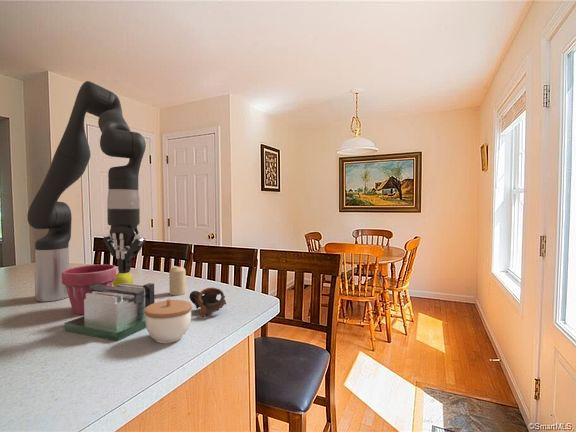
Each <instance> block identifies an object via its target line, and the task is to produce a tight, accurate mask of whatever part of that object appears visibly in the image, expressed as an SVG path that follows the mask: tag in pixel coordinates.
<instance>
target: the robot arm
mask: <svg viewBox="0 0 576 432" xmlns="http://www.w3.org/2000/svg"><path fill="white" fill-rule="evenodd" d="M87 113H88V114H90V115H93V116H95V117H98V120H97V121H98V122H97V125H98V128H99V130H100V132H101V135H100V139H99V148H100V150H101V151H102V153H103V154H104V155H106V156H108V157H111V158H112V157H113V158H123V159H128V163H127V164H126V165H118V166H112V167H110V168H109V169H108V175H107V177H108V178H107V180H108V181H107V183H108V187H107V189H108V190H107V191H108V192H107V200H106V202H107V203H106V205H107V207H106V208H107V210H106V212H107V215H106V216H107V225H108V226H110V229H109V234H108V235H107V236H103V237H102V241H103V242H104V244H105V245H106V248H107V249H108V251H109V254H110V255H111V256H112V257H116V258H115V259H117V269H118V272H119V273H130V271H131V264H132V263H131V260H132V258H134V257H137V256H138V255H139V253H140V251H141V250H142V248H143V246H144V245H145V243H146V241H147V240H146V238H145V237H141V236H140V235H139V230H138V226H139V225H140V222H141V221H140V220H141V219H140V218H141V216H140V213H141V211H140V201H141V200H140V194H139V174H140V168H141V163H142V160H143V158H144V155H145V151H146V140H145V137H144V136H143V135H142V134H141V133H139V132H137V131H131V129H130V126H129V125H128V123H127V122H126V120H125V118H124V116H123V110H122V104H121V101H120V98H119V97H118V95H117V94H116V93H114V92H113V91H111V90H109V89H106V88H105V87H102V86H100V85H99V84H96V83H94V82H92V81H88V80H87V81H86V80H85V81H84V82H83V83H82V84H81V86H80V88H79V90H78V92H77V94H76V97H75V101H74V104H73V107H72V110H71V113H70V117H69V119H68V122H67V125H66V127H65V129H64V132H63V134H62V137H61V139H60V141H59V143H58V145H57V148H56V150H55V153H54V155H53V157H52V159H51V162H50V166H49V168H48V170H47V173H46V175H45V178H44V179H43V182H42V183H41V186H40V188H39V189H38V191H37V193H36V194H35V196H34V198H33V200H32V202H30V205H29V208H28V210H27V211H28V212H27V216H26V217H27V223H28V224H29V226H30V227H31V228H33V229H36V230H48V231H47V233H46V234H45V235H43V236H42V237H41V238H39V239H37V240H36V241H35V242H34V249H35V250H34V252H35V253H34V254H35V270H34V296H35V297H34V299H35V300H36V301H37V302H53V301H55V302H56V301H60V300H64V299H67V298H69V296H68V293H67V289H66V285H63V284H62V271H63V270H66V269H69V268H70V256H69V252H70V251H69V248H70V247H69V246H70V245H69V244H70V241H71V239H72V237H71V236H72V219H73V218H72V217H73V216H72V211H71V208H70V206H69V205H68V204H67V203H66V202H64V201H58V200H59V198H60V197H61V195H62V194H63V193H64V192H65V191H66V190H68V189H69V188H70V187H71V186H72V185H73V184H74V183H76V182H77V181H78V180H79V179H80V178H81V177H82V176H83V174H84V173H85V171H86V169H87V166H88V164H89V162H90V159H91V149H90V144H89V142H88V139H87V136H86V135H87V134H86V131H85V118H86V115H87Z"/></svg>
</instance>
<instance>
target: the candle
mask: <svg viewBox="0 0 576 432" xmlns="http://www.w3.org/2000/svg"><path fill="white" fill-rule="evenodd" d="M168 280H169V295H170V296H182V295H185V294H186V292H187V291H186V284H187V283H186V280H187V279H186V268H185V267H183V266H182V265H181V266H177V265H174V266H172V267H171V268H170V270H169V279H168Z"/></svg>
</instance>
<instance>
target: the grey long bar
mask: <svg viewBox="0 0 576 432" xmlns="http://www.w3.org/2000/svg"><path fill="white" fill-rule="evenodd" d="M90 289H91V290H98V291H105V292H112V293H119V294H126V295H133V296H134V303H135V304H137V303H140V302H142V301H144V290H137V289H129V288H122V287H115V286H113V285H112V286H107V285H101V284H97V285H93V286H90Z"/></svg>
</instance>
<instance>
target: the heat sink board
mask: <svg viewBox="0 0 576 432" xmlns="http://www.w3.org/2000/svg"><path fill="white" fill-rule="evenodd" d="M117 287H122V288H129V289H137V290H144V301H142V302H140V303H137V304H135V303H134V296H133V295H126V294H119V293H112V292H107V293H104V292H103V291H98V290H89V291H88V293H86V299H84V314H83V316H80V317H78V318H74V319H71V320H69V321H66V322H64V331H66V332H71V333H74V334H81V335H85V336H91V337H95V338H99V339H105V340H109V341H115V342H119V341H121V340H123V339H125V338H127V337H129V336H131V335H134V334H136V333H138V332H140V331H142V330H144V329H147V327H146V322H145V308H146V307H147V306H149V305H151V304H153V303H155V283H151V282H149V283H145V284H135V283H133V284H128V283H122V285H117Z"/></svg>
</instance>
